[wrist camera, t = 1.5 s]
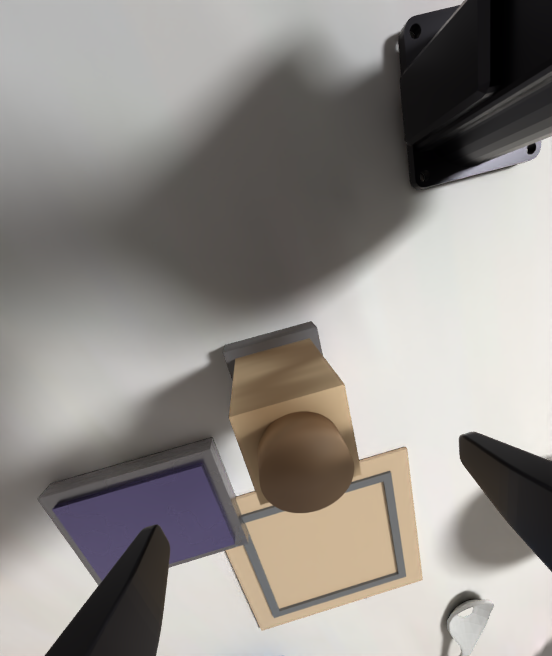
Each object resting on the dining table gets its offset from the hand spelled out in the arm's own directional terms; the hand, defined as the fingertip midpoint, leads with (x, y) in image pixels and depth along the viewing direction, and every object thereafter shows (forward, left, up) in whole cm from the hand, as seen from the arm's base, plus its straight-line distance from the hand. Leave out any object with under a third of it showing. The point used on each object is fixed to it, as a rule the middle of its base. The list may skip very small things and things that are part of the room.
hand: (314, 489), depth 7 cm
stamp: (0, 0, -8) cm, 8 cm away
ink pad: (+10, +7, -8) cm, 15 cm away
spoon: (-9, +36, -9) cm, 38 cm away
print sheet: (0, +15, -8) cm, 17 cm away
